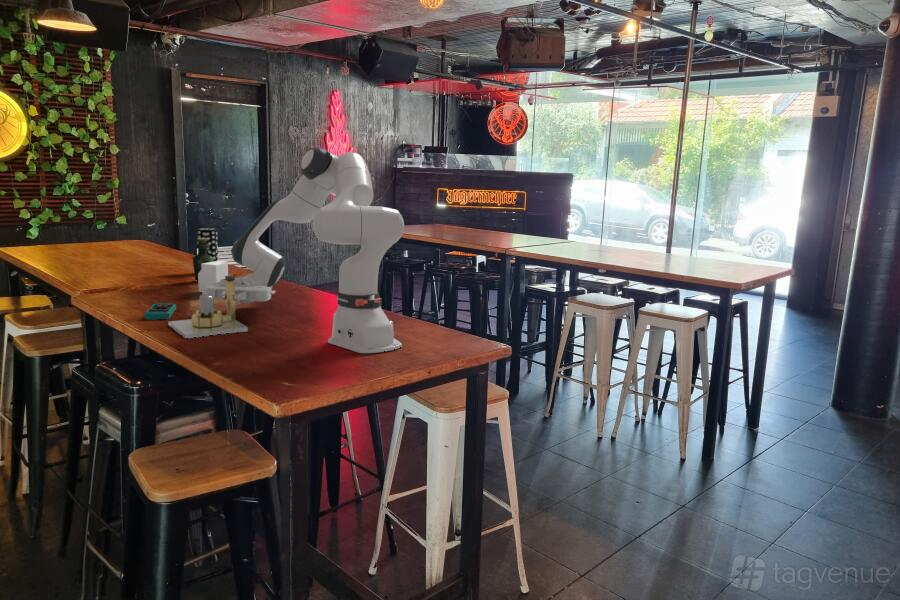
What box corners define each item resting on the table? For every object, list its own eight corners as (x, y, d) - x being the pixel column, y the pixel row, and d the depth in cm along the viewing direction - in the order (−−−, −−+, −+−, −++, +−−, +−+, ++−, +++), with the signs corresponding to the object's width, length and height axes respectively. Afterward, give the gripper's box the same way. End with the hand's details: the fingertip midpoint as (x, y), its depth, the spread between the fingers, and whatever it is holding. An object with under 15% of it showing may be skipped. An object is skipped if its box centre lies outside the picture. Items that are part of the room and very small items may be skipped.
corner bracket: (216, 297, 241) (215, 265, 238) (192, 293, 244) (191, 262, 242) (235, 292, 250) (234, 261, 248) (211, 289, 254) (210, 259, 252)
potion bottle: (189, 281, 269) (187, 238, 265) (206, 279, 275) (204, 237, 272) (201, 283, 264) (199, 240, 261) (218, 281, 271) (216, 239, 267)
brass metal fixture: (204, 328, 189) (202, 283, 186) (186, 323, 194) (185, 279, 191) (243, 320, 200) (242, 277, 198) (226, 315, 205) (225, 274, 202)
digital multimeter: (176, 310, 218) (176, 302, 217) (169, 321, 204) (168, 311, 203) (153, 311, 216) (152, 302, 215) (144, 321, 202) (143, 312, 201)
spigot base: (247, 331, 193) (247, 298, 191) (185, 338, 183) (184, 304, 181) (225, 318, 209) (224, 287, 207) (167, 324, 198) (165, 292, 196)
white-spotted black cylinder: (206, 275, 284) (205, 230, 280) (194, 273, 288) (193, 228, 284) (222, 273, 291) (221, 229, 287) (210, 271, 295) (209, 227, 291)
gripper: (277, 300, 213) (262, 309, 199) (217, 297, 214) (198, 305, 201) (277, 281, 211) (262, 289, 198) (216, 278, 213) (197, 285, 199)
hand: (229, 297), depth 199 cm, fingers closed on brass metal fixture, 3 cm apart
